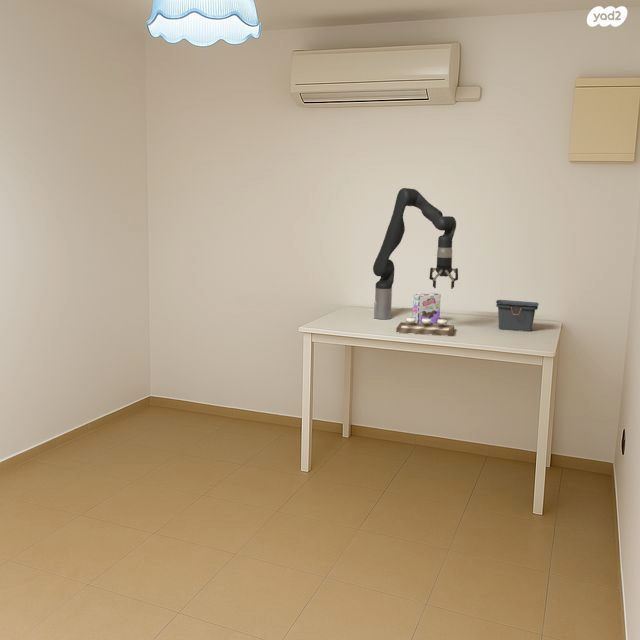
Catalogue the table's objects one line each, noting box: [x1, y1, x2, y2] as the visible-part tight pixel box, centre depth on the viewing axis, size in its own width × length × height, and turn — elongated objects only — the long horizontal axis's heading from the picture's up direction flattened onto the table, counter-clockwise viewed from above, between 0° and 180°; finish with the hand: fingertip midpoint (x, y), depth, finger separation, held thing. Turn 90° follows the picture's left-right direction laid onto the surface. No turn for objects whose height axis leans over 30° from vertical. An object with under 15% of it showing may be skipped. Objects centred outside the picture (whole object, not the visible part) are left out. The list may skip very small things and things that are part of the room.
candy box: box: [412, 292, 441, 324], centre depth 366 cm, size 14×6×16 cm, turn 112°
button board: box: [395, 322, 455, 337], centre depth 344 cm, size 28×16×3 cm, turn 76°
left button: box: [405, 316, 416, 323], centre depth 348 cm, size 5×5×2 cm
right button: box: [436, 318, 448, 325], centre depth 345 cm, size 5×5×2 cm
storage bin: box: [495, 299, 540, 332], centre depth 351 cm, size 21×16×14 cm
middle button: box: [422, 318, 431, 324], centre depth 347 cm, size 5×5×2 cm
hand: (443, 288), depth 341 cm, fingers open, 8 cm apart
